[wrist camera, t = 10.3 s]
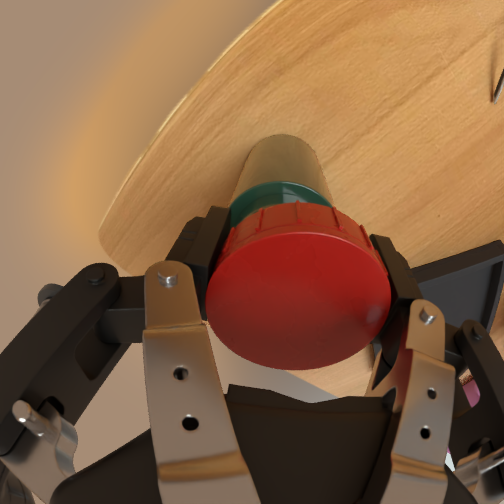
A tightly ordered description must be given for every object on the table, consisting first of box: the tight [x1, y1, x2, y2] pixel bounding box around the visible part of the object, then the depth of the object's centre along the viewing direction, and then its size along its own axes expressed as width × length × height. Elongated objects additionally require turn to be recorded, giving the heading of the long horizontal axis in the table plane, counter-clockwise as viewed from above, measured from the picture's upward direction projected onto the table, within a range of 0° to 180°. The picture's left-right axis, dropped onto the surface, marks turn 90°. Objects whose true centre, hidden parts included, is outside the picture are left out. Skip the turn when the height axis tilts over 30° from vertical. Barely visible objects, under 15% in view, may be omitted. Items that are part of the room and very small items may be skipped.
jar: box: [228, 135, 335, 230], centre depth 15 cm, size 5×5×11 cm
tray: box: [373, 240, 504, 360], centre depth 25 cm, size 16×16×2 cm
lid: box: [205, 200, 391, 370], centre depth 9 cm, size 6×6×2 cm
